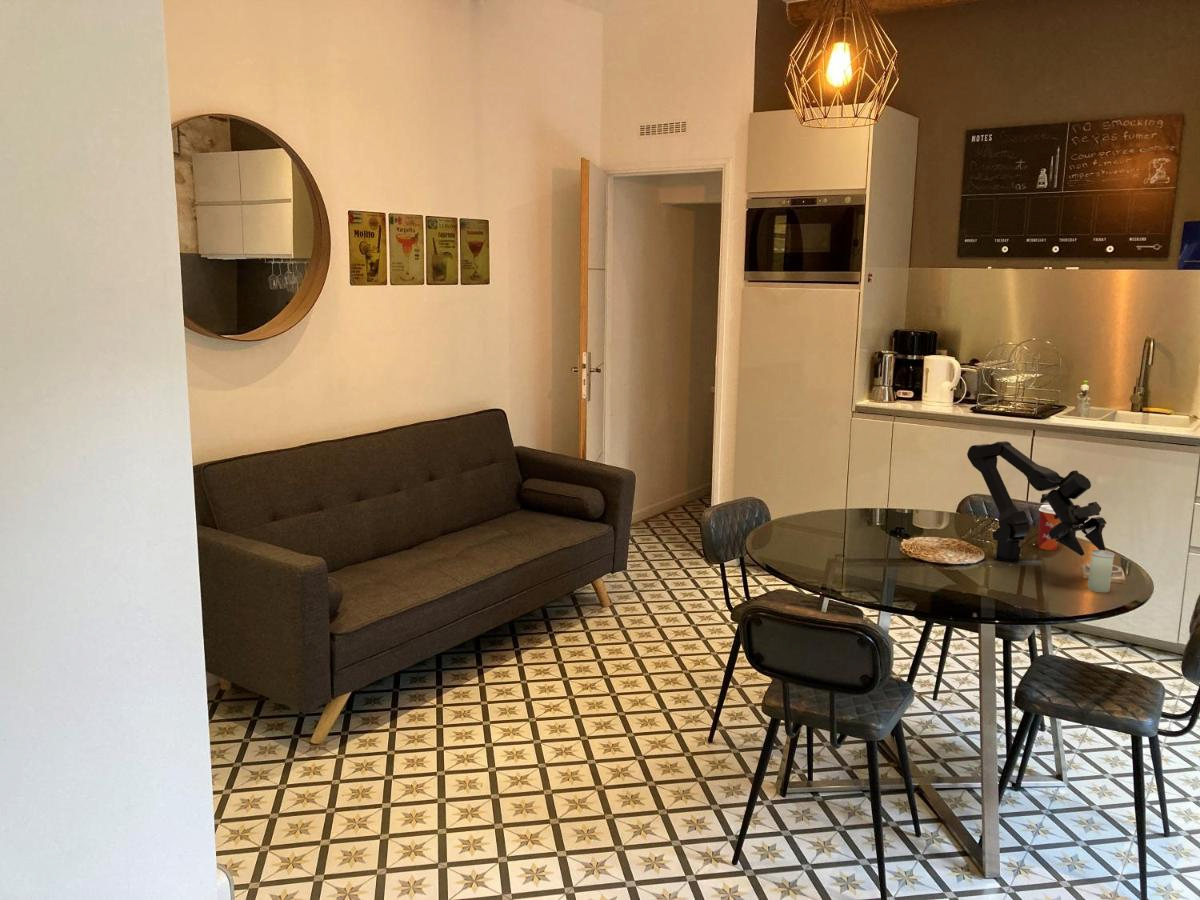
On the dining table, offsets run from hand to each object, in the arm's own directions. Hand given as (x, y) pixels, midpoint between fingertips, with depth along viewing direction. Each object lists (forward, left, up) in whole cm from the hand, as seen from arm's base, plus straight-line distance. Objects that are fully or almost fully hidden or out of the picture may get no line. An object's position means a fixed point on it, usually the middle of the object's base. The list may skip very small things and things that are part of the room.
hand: (1093, 553), depth 272 cm
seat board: (+4, +13, -10) cm, 17 cm away
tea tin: (+2, -2, -10) cm, 10 cm away
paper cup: (-11, +38, -10) cm, 41 cm away
